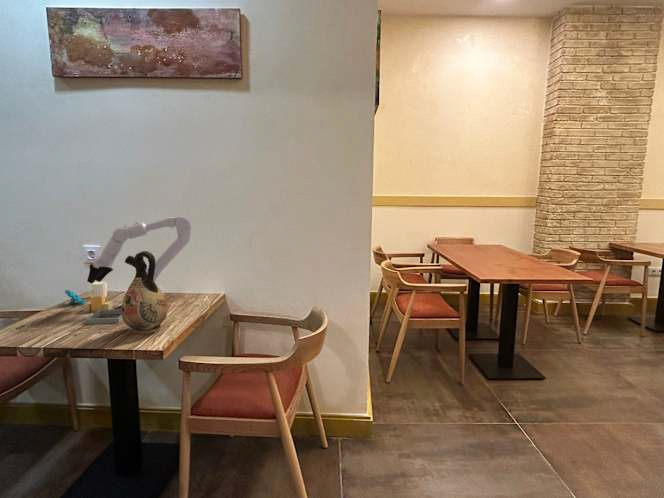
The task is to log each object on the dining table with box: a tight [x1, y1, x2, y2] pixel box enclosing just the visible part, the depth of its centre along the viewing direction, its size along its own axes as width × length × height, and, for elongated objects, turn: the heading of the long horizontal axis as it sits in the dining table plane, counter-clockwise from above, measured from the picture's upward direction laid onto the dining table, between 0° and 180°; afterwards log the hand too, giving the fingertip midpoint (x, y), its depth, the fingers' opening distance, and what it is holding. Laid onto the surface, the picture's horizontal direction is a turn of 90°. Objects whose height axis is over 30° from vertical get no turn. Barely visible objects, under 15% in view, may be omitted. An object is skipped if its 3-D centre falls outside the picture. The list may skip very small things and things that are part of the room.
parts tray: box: [85, 308, 124, 327], centre depth 159 cm, size 12×12×2 cm
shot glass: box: [90, 281, 108, 298], centre depth 193 cm, size 7×7×7 cm
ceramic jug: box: [121, 250, 169, 335], centre depth 146 cm, size 17×15×30 cm
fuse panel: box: [77, 301, 119, 315], centre depth 170 cm, size 12×10×4 cm
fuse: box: [89, 294, 106, 311], centre depth 170 cm, size 4×3×6 cm, turn 97°
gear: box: [64, 289, 86, 306], centre depth 178 cm, size 11×6×10 cm
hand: (93, 281), depth 170 cm, fingers open, 7 cm apart
